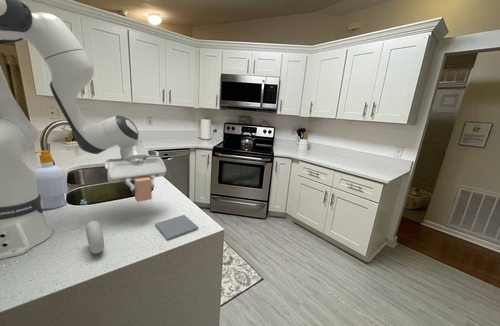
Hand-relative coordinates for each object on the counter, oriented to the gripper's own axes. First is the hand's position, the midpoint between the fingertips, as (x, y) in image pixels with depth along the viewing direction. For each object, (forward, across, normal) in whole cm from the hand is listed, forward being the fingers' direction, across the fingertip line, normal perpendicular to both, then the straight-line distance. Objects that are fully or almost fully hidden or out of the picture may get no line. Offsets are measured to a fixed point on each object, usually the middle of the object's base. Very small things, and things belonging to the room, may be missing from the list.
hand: (143, 188), depth 78 cm
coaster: (+17, +9, +3) cm, 20 cm away
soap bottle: (-15, -25, +37) cm, 48 cm away
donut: (+16, -16, +5) cm, 24 cm away
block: (+3, 0, +3) cm, 4 cm away
